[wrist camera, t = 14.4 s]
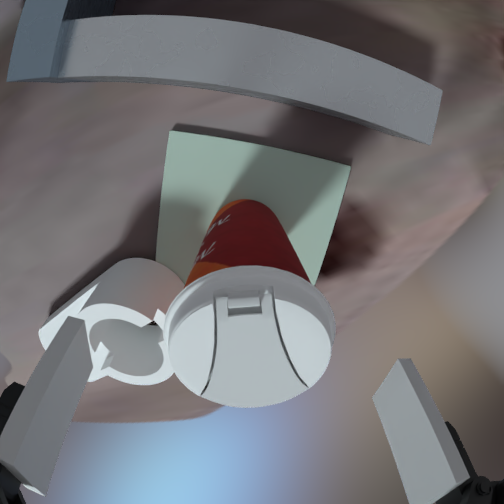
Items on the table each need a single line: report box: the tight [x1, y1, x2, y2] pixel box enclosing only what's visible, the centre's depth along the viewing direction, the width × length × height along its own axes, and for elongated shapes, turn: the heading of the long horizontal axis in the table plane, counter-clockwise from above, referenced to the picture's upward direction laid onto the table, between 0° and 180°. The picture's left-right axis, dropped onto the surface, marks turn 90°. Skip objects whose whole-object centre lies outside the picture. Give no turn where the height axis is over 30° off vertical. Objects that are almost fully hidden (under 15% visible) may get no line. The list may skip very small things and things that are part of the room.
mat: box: [156, 130, 351, 286], centre depth 25 cm, size 14×14×1 cm
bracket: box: [39, 258, 185, 385], centre depth 26 cm, size 20×9×7 cm, turn 123°
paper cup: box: [163, 199, 336, 408], centre depth 18 cm, size 8×8×14 cm
